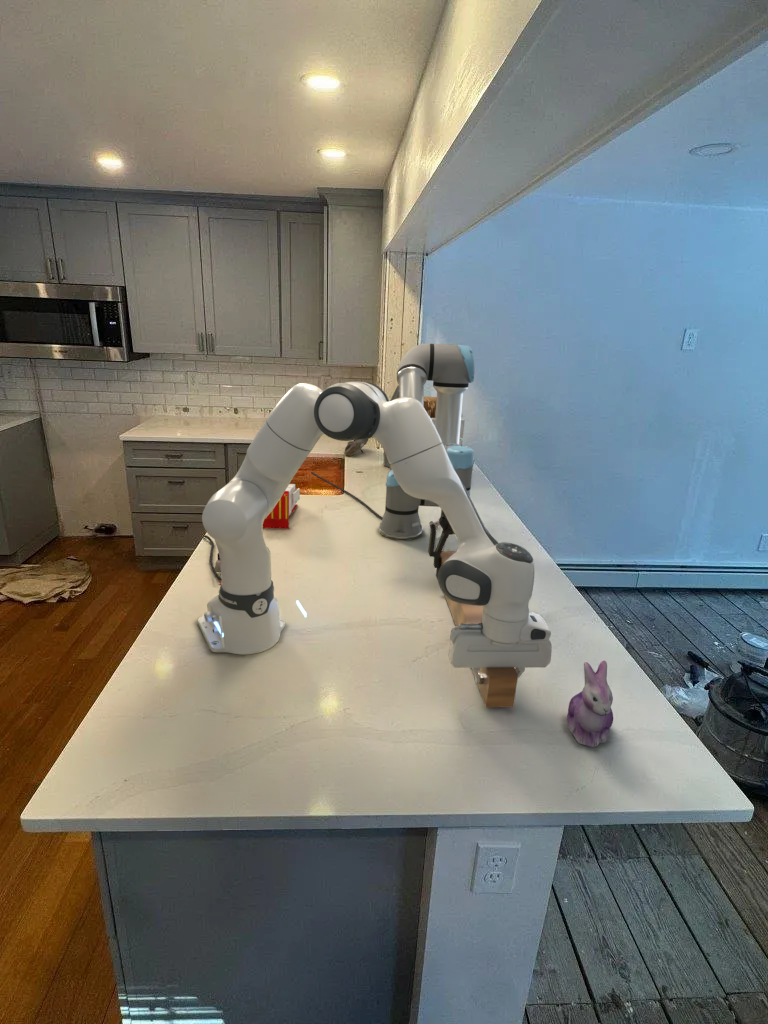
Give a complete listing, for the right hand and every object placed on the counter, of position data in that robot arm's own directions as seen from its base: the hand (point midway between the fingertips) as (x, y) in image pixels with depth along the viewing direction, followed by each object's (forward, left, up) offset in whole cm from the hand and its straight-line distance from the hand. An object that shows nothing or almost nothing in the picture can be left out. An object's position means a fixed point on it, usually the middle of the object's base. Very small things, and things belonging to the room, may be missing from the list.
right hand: (448, 577), depth 165 cm
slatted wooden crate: (-89, +74, -2) cm, 116 cm away
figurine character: (-44, -46, -2) cm, 64 cm away
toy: (-75, -11, -2) cm, 76 cm away
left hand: (+42, -31, +2) cm, 52 cm away
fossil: (-137, +73, -2) cm, 156 cm away
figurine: (+60, -24, -2) cm, 64 cm away
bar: (+21, -15, -1) cm, 26 cm away
